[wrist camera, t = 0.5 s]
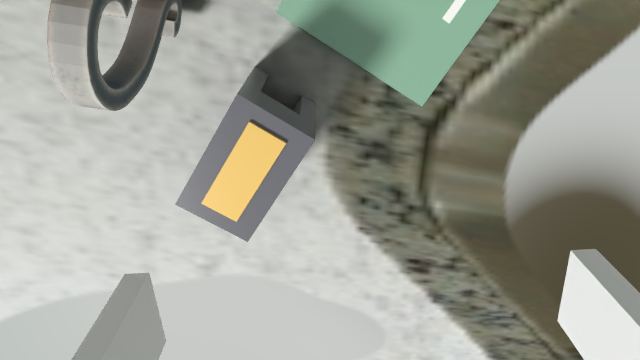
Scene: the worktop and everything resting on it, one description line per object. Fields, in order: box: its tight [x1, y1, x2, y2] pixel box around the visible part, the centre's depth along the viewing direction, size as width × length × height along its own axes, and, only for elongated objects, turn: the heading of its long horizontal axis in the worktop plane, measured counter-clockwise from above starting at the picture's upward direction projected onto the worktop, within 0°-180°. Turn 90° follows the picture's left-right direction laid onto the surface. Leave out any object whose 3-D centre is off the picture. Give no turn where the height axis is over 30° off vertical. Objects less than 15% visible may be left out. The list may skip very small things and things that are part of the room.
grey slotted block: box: [175, 67, 315, 242], centre depth 31 cm, size 5×8×8 cm, turn 148°
